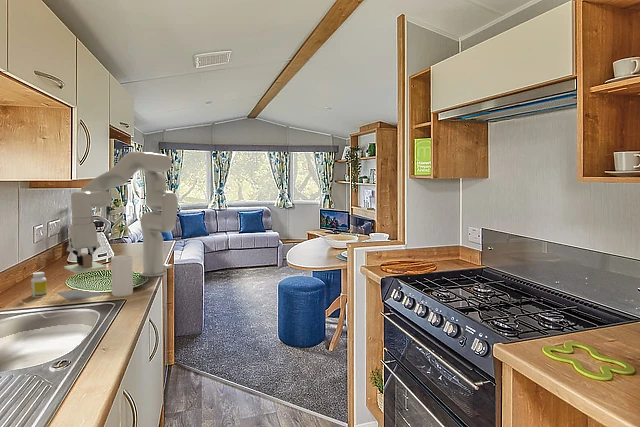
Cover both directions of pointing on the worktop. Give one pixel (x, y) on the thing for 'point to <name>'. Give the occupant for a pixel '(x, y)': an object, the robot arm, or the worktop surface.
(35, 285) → the supplement bottle
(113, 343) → the worktop surface
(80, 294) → the mat
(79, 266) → the lid
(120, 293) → the cup
